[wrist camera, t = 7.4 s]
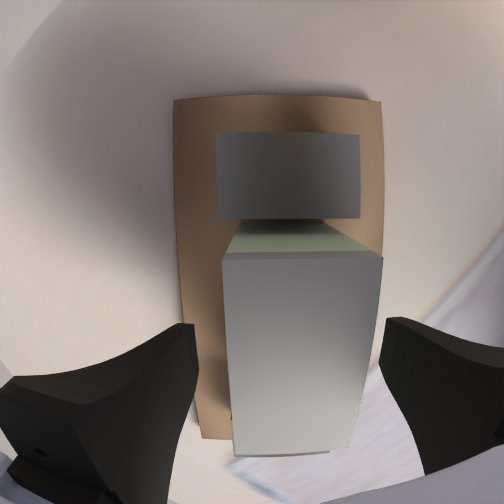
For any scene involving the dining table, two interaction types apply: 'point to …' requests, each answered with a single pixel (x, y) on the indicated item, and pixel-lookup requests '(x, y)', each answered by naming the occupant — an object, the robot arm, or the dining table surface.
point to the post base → (220, 232)
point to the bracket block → (297, 335)
